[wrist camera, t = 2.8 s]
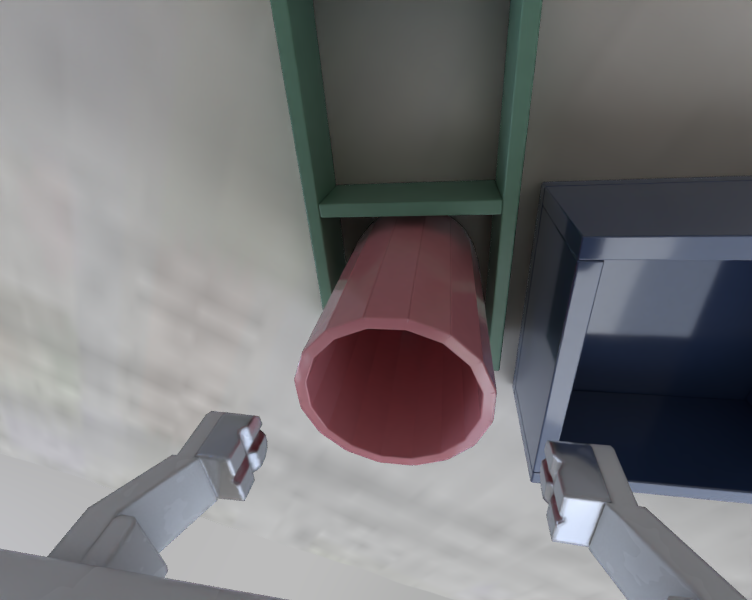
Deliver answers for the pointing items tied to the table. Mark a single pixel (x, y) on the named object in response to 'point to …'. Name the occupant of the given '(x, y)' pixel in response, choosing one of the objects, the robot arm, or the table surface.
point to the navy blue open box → (643, 331)
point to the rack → (407, 198)
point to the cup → (403, 347)
